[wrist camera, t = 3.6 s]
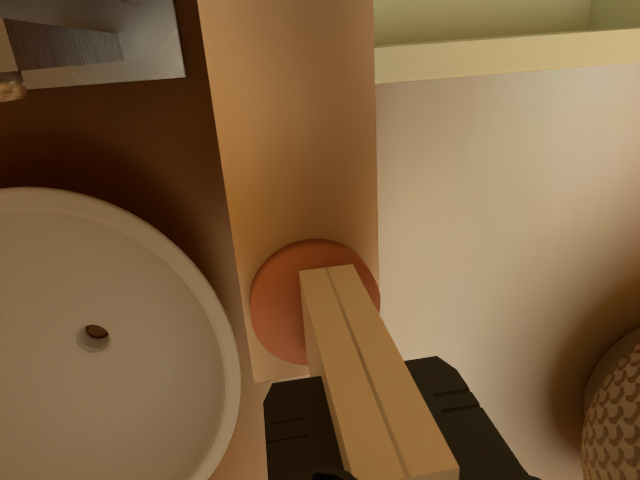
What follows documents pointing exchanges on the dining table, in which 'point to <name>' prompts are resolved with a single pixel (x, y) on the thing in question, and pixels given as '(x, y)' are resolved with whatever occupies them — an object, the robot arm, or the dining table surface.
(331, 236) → the lever
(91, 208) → the dish
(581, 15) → the cream open box
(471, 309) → the dining table surface
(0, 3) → the stand
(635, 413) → the planter
